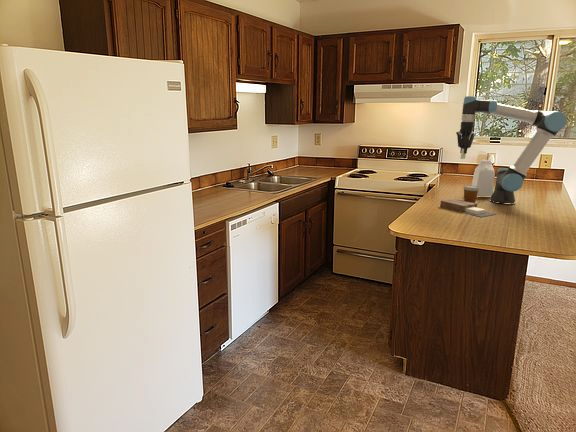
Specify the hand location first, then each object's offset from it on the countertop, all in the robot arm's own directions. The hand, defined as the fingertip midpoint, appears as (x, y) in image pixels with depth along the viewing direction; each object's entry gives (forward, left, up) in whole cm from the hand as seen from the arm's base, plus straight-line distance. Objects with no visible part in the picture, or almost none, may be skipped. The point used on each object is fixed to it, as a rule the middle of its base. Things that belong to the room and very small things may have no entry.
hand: (462, 158), depth 277 cm
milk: (-36, -7, -30) cm, 47 cm away
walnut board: (+15, +11, -29) cm, 35 cm away
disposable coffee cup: (-2, +7, -30) cm, 31 cm away
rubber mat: (+15, +26, -29) cm, 42 cm away
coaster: (+15, +24, -29) cm, 40 cm away
